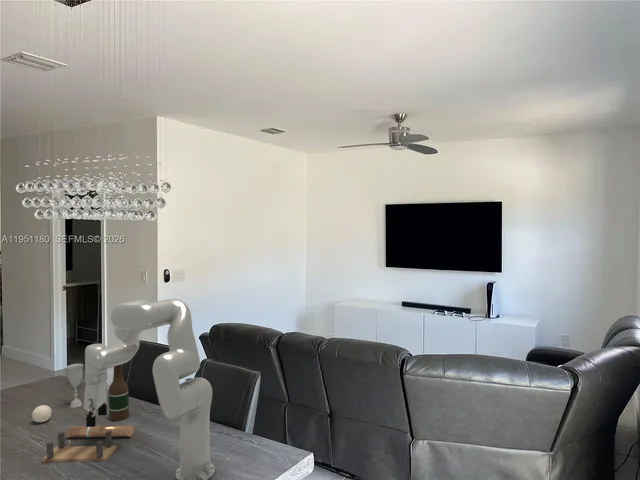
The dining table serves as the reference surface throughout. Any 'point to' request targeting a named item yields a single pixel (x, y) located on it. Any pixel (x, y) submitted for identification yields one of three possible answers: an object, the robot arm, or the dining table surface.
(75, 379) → the chalice
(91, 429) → the tube
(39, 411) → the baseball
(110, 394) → the beer bottle
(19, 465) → the dining table surface
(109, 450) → the base
